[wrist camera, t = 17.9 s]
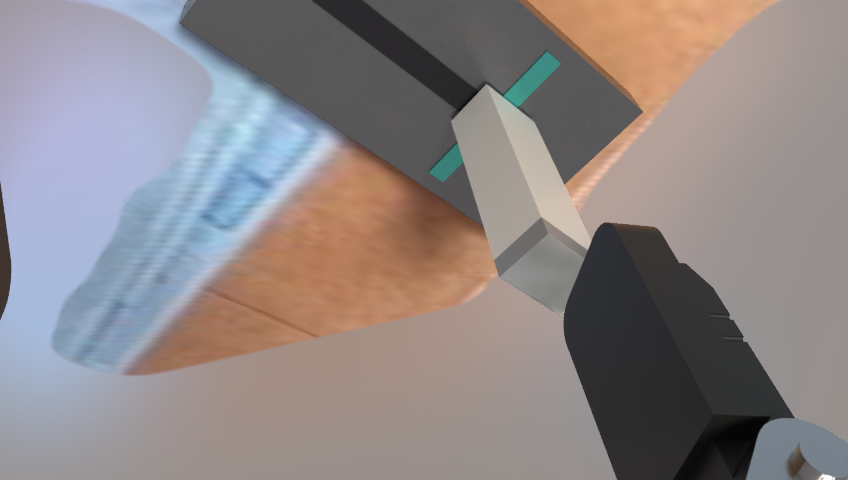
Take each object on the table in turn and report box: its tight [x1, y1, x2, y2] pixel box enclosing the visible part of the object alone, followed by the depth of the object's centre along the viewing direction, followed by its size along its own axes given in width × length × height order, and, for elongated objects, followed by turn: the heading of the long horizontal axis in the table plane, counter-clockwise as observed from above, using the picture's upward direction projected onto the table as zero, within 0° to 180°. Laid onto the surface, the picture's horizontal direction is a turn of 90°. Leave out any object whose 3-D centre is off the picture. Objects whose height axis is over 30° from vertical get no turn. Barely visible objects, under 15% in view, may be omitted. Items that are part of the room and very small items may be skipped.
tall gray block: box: [451, 84, 591, 315], centre depth 41 cm, size 4×3×14 cm
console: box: [180, 0, 643, 227], centre depth 45 cm, size 24×12×3 cm, turn 49°
